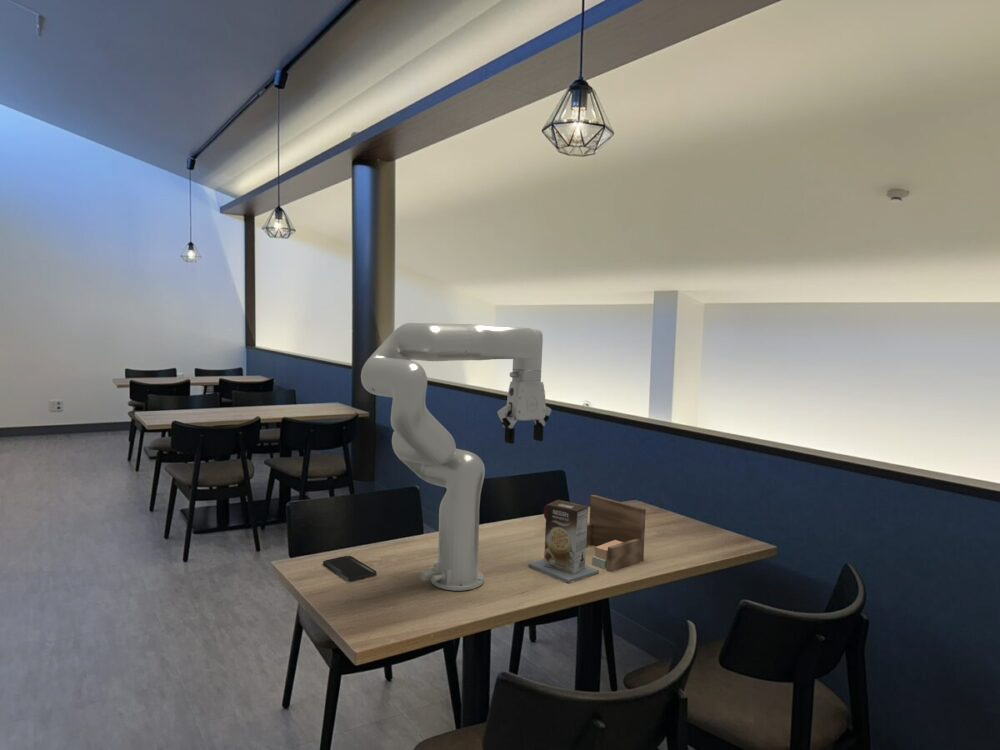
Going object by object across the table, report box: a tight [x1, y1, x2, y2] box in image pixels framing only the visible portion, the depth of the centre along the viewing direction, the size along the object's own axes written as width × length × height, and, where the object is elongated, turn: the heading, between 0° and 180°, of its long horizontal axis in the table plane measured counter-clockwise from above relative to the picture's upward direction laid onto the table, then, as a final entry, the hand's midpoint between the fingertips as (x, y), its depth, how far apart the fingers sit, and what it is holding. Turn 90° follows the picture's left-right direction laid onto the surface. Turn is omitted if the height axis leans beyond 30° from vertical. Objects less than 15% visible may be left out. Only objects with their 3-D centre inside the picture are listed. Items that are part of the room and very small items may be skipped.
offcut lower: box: [591, 555, 607, 570], centre depth 174 cm, size 10×4×2 cm, turn 134°
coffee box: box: [543, 499, 589, 574], centre depth 167 cm, size 9×6×16 cm
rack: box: [586, 494, 647, 572], centre depth 178 cm, size 14×18×14 cm
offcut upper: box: [594, 540, 623, 560], centre depth 174 cm, size 9×4×2 cm, turn 136°
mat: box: [528, 558, 600, 584], centre depth 167 cm, size 11×14×1 cm
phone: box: [322, 555, 377, 583], centre depth 163 cm, size 8×1×15 cm
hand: (523, 441), depth 173 cm, fingers open, 9 cm apart
